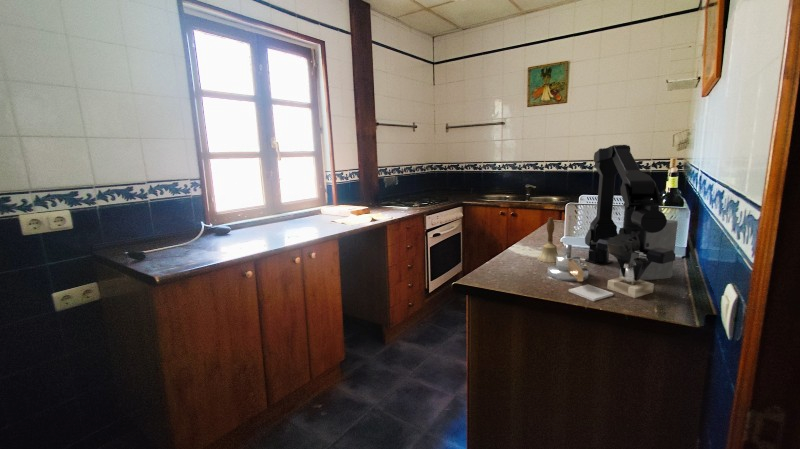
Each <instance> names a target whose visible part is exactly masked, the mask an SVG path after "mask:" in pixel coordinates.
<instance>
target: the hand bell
mask: <svg viewBox="0 0 800 449" xmlns="http://www.w3.org/2000/svg"><path fill="white" fill-rule="evenodd" d="M554 230H555V220H554V218H553V217H548V219H547V223H546V231H547V243H546V244H544V245H543V247H542V251H541V254H540V255H539V256H537V260H538V261H540V262H543V263H547V264H556V256H557V255H559V253H558V248H557V245H556V244H554V243H553V239H554V238H553V235H554Z"/></svg>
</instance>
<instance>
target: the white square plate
mask: <svg viewBox="0 0 800 449" xmlns="http://www.w3.org/2000/svg"><path fill="white" fill-rule="evenodd" d="M568 292H569V293H571V294H574V295H577V296H580V297H582V298H584V299H587V300H589V301H591V302H596V301H598V300H602V299H605V298H608V297H609V298H610V297H612V296H614V292H611V291H608V290H605V289H603V288H600V287H596V286H594V285H590V284H589V283H588V284H584V285H581V286H576V287H574V288H568Z"/></svg>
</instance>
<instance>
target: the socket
mask: <svg viewBox="0 0 800 449" xmlns="http://www.w3.org/2000/svg"><path fill="white" fill-rule="evenodd" d="M624 279H625V277H623V276H622V277H620V276H619V277H615V278H612V279H609V280H607V287H606V288H607V290H610V291H614V292H616V293H620V294H622V295H625V296H627V297H630V298H633V299H636V298H639V297H642V296H645V295H648V294H652V293H654V285H655V284H654V283H653V282H649V281H647V280H637V285H634V286H632V285H629V284H626V283H624Z"/></svg>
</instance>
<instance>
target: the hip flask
mask: <svg viewBox="0 0 800 449" xmlns="http://www.w3.org/2000/svg"><path fill="white" fill-rule="evenodd" d="M678 223H679V221H677V220H674V219H673V220H672V219H670V220H669V219H667V223H666V226H665V227H664V228H663V229H662V230H661V231H659V232H656V233H650V232H648V233H647V240H646V243H649V247H646V249H654V248H659V247H660V248H665V249H670V250H673V251H674V253H675V250H676V240H677V232H678ZM638 251H640V250H638ZM635 258H639V254H637V253H632V254H631V260H630V262H633V261H634V259H635ZM673 267H674V261H671V262H668V263H664V264H659V263H655V262H651V263H650V264H649V266H648V267H647V268H646V270H645V271H644V273H643V274H642V276H641V277H640V279H639V280H643V281H649V280H650V281H651V280H665V279H670V278H672V277H673V269H674V268H673ZM622 276H623V275H622V272H621V269H619V277H622Z"/></svg>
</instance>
